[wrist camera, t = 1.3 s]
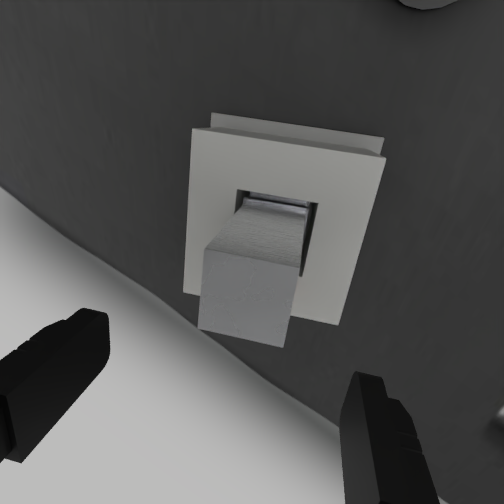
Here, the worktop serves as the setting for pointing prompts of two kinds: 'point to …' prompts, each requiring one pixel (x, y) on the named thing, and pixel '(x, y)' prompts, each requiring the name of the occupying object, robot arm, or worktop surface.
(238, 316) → the column
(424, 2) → the can
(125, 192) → the worktop surface
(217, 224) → the stand base
